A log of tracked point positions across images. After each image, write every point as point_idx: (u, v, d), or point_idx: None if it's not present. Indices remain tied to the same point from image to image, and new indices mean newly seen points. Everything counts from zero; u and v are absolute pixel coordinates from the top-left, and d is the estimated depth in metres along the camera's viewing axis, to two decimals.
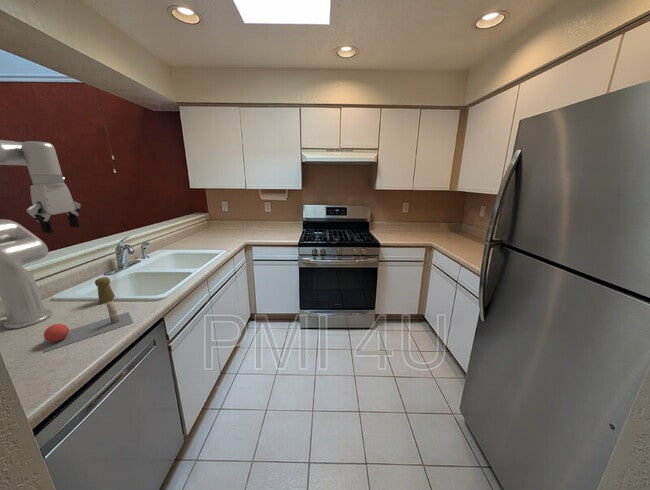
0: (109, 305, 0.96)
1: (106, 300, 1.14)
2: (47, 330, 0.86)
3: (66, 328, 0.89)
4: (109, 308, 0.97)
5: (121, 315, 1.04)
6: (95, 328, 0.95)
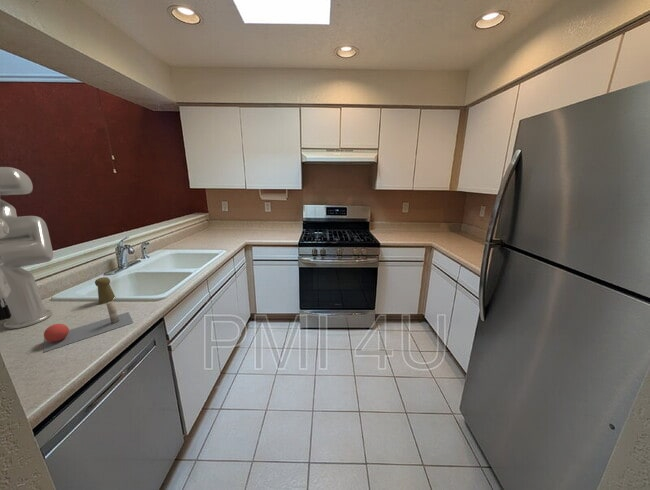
0: (109, 305, 0.96)
1: (106, 300, 1.14)
2: (47, 330, 0.86)
3: (66, 328, 0.89)
4: (109, 308, 0.97)
5: (121, 315, 1.04)
6: (95, 328, 0.95)
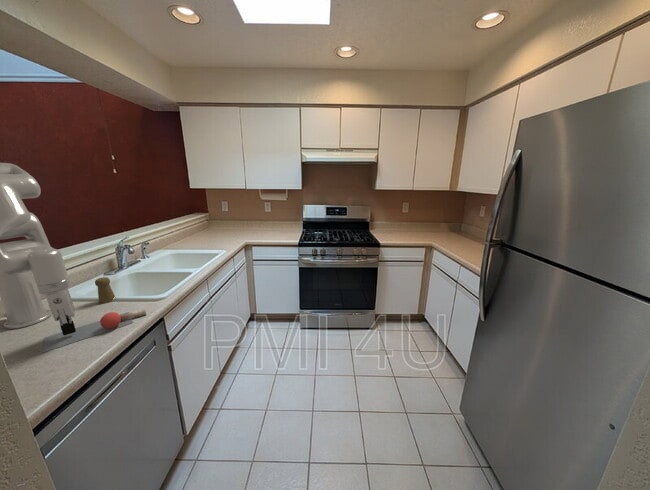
0: (144, 313, 1.04)
1: (106, 300, 1.14)
2: None
3: (104, 319, 0.93)
4: (140, 314, 1.03)
5: None
6: (95, 328, 0.95)
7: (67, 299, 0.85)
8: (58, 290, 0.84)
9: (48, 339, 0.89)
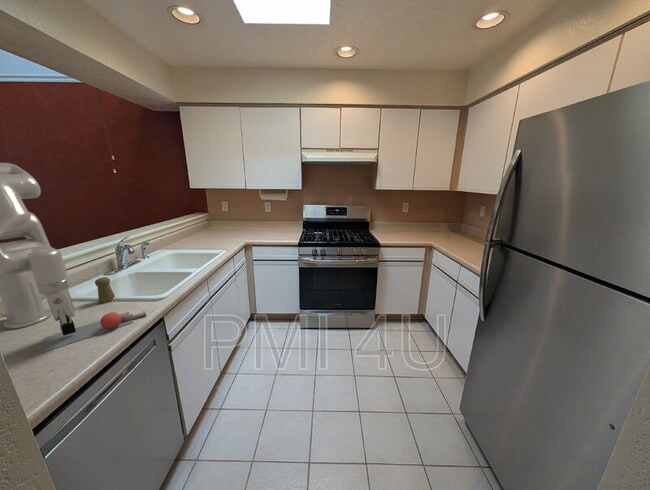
0: (144, 315, 1.03)
1: (106, 300, 1.14)
2: None
3: (104, 319, 0.93)
4: (140, 316, 1.03)
5: (121, 315, 1.04)
6: (95, 328, 0.95)
7: (67, 299, 0.85)
8: (58, 290, 0.84)
9: (48, 339, 0.89)
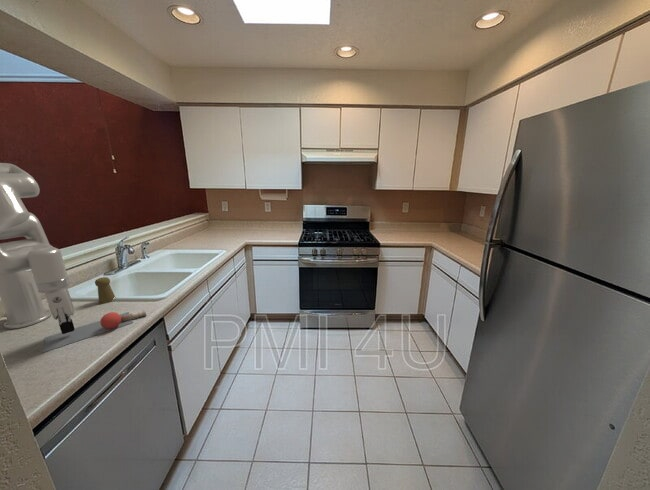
0: (144, 315, 1.03)
1: (106, 300, 1.14)
2: None
3: (104, 319, 0.93)
4: (140, 316, 1.03)
5: (121, 315, 1.04)
6: (95, 328, 0.95)
7: (66, 298, 0.85)
8: (57, 289, 0.84)
9: (48, 339, 0.89)
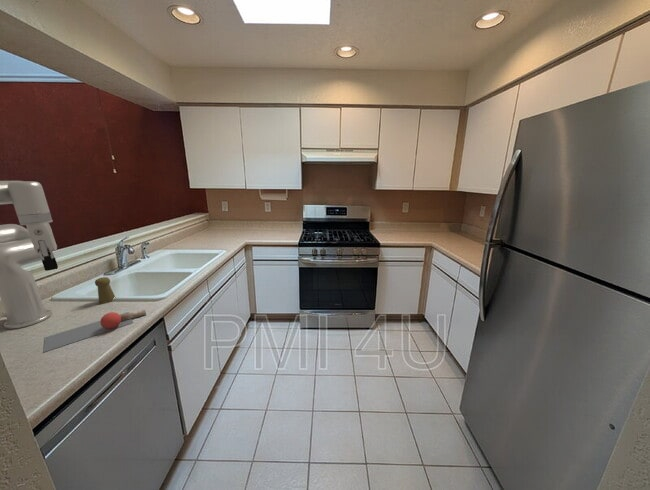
0: (144, 313, 1.04)
1: (106, 300, 1.14)
2: None
3: (104, 319, 0.93)
4: (140, 313, 1.03)
5: None
6: (95, 328, 0.95)
7: (48, 232, 0.86)
8: (39, 222, 0.85)
9: (48, 339, 0.89)
